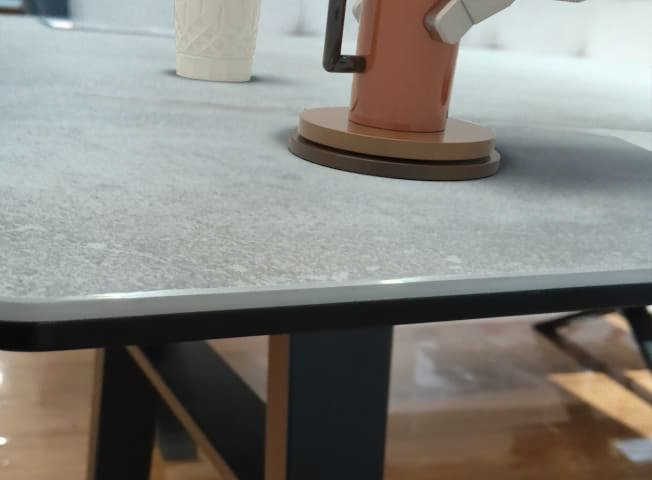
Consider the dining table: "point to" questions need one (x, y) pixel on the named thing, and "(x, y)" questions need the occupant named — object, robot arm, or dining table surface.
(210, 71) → the white cup
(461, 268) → the dining table surface
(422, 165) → the lazy susan base
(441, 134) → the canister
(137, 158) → the dining table surface
